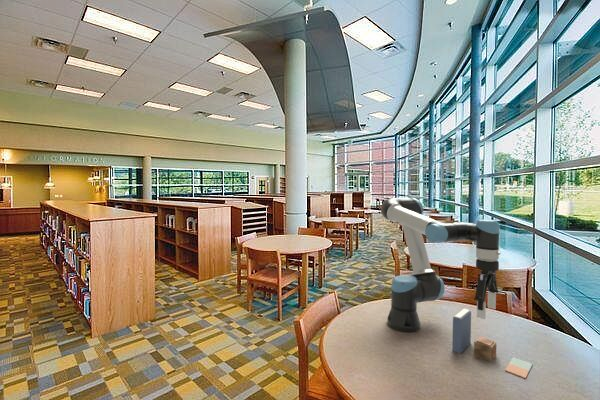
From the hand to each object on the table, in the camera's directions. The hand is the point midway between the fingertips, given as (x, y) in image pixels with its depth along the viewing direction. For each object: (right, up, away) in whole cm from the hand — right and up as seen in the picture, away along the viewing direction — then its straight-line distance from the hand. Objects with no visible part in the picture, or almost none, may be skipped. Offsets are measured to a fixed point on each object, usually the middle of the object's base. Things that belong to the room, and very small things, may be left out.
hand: (486, 312), depth 115 cm
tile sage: (+9, -17, -5) cm, 20 cm away
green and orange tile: (+5, -18, -9) cm, 20 cm away
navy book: (-6, -17, +7) cm, 19 cm away
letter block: (0, -17, +1) cm, 17 cm away
